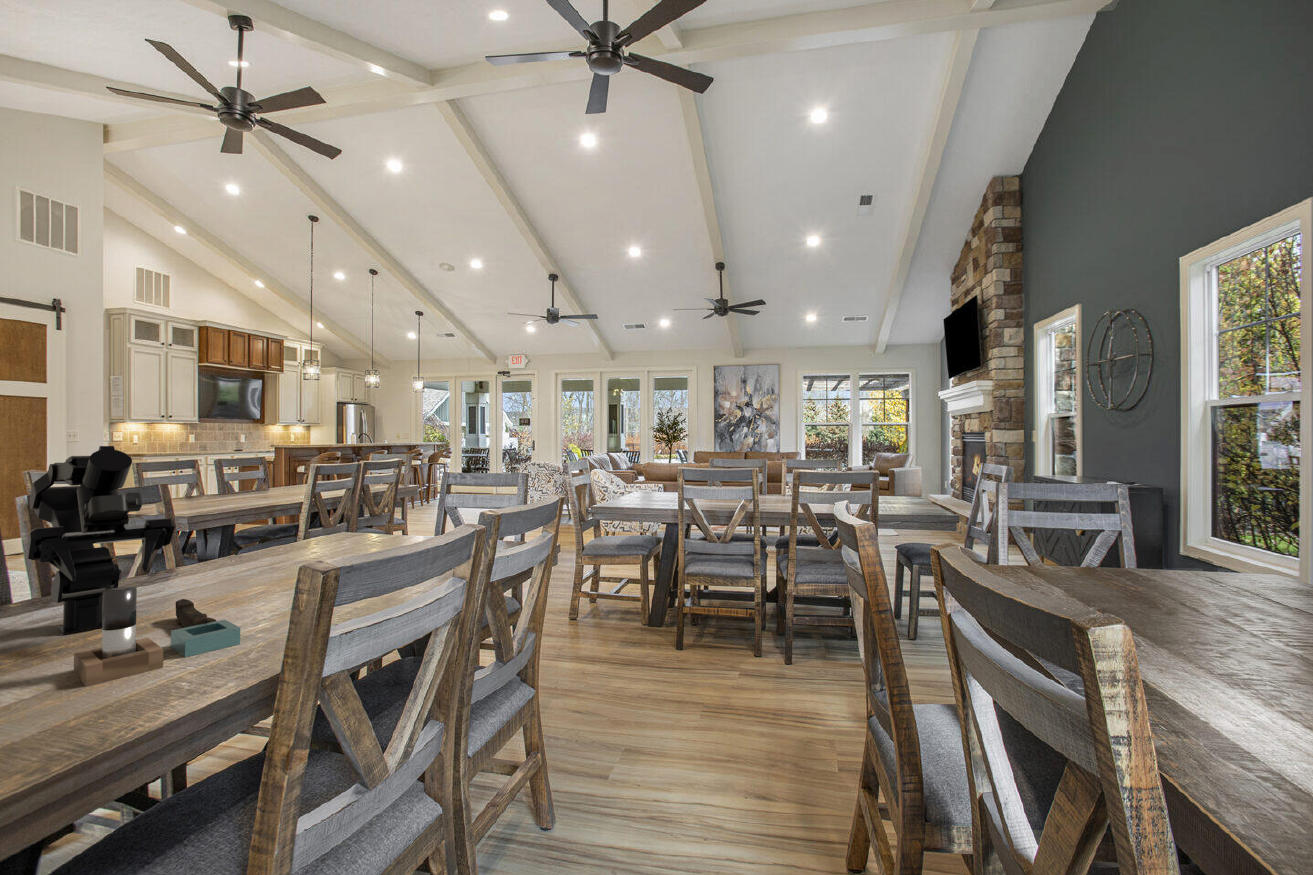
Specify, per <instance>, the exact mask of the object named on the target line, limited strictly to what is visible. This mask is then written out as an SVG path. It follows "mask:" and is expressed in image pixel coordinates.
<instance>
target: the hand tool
mask: <svg viewBox="0 0 1313 875" xmlns="http://www.w3.org/2000/svg"><path fill="white" fill-rule="evenodd" d="M175 616H176V623H177V625H178V626H182V627H183V628H186V627H191V626H196V625H200V624H205V623H210V622H215V621H217V620H216V619H215V618H212V617H209V616H208V615H207V613H202V612H200V611H199V610H197V608H196V607H195V603H194V602H193V601H192V600H189V599H186V598H181V599H179V600H177V601H175Z"/></svg>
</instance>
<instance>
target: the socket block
mask: <svg viewBox="0 0 1313 875" xmlns="http://www.w3.org/2000/svg"><path fill="white" fill-rule="evenodd" d="M237 645H241V627H240V626H238V625H236V624H234V623H232V622H230V621H228V620H227V619H221V620H216V621H215V622H210V623H205V624H200V625H196V626H191V627H186V628H185V627H183V628H178V629H174V630H173V629H171V630H170V648H171V649H172V650H174V651H176V652H177V653H179V654H180V655H181V656H182V657H184V658H188V657H192V656H196V655H200V654H205V653H208V652H209V653H210V652H213V651H217V650H221V649H225V648H229V647H230V648H231V647H233V646H237Z"/></svg>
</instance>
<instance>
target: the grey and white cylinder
mask: <svg viewBox="0 0 1313 875" xmlns="http://www.w3.org/2000/svg"><path fill="white" fill-rule="evenodd" d="M137 593H138V592H137V586H121V587H119V586H118V588H113V589H108V590H105V591H103V611H102V627H101V628H102V629H101V647H102V660H103V659H107V658H112V657H116V656H121V655H125V654H130V653H134V652H136V640H137V601H138V600H137V596H138V594H137Z"/></svg>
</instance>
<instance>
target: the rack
mask: <svg viewBox="0 0 1313 875" xmlns="http://www.w3.org/2000/svg"><path fill="white" fill-rule="evenodd" d="M162 668H164V648H163V647H161V646H160V645H158V644H157V643H156V642H154V640H152V639H151V638H149V637H145V638H140V639H136V652H134V653H130V654H125V655H121V656H116V657H112V658H107V659H103V660H102V646H101V647H97V648H92V649H89V650H84V651H78V652H74V653H73V673H74V674H75V676H77V678H78V679H79V680H80V681H81V682H82V684H83V685H84V686H85V687H89V686H92V685H93V686H94V685H97V684H101V683H105V682H109V681H113V680H117V679H121V678H125V677H130V676H133V675H134V676H135V675H137V674H142V673H145V672H150V671H153V670H158V669H162Z"/></svg>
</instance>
